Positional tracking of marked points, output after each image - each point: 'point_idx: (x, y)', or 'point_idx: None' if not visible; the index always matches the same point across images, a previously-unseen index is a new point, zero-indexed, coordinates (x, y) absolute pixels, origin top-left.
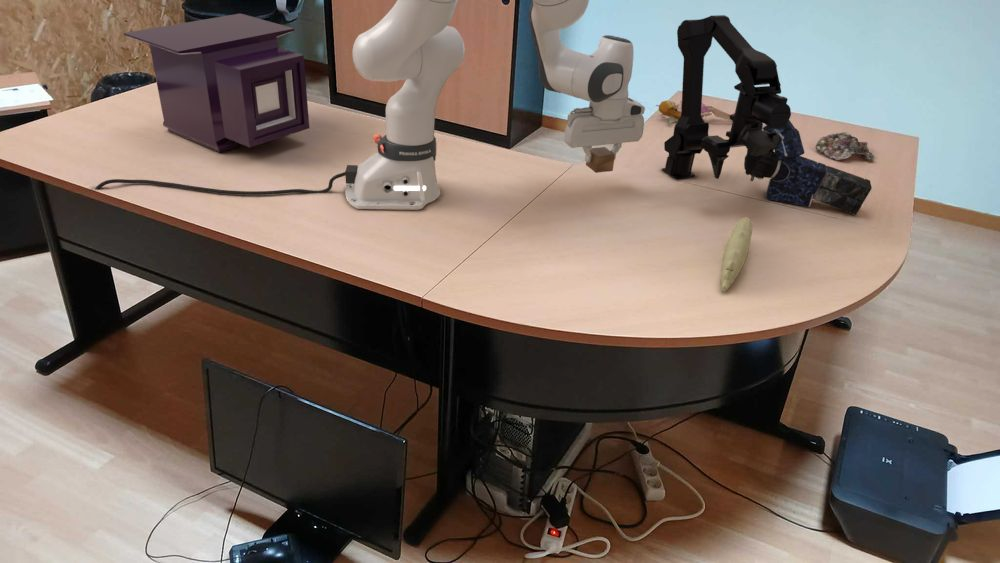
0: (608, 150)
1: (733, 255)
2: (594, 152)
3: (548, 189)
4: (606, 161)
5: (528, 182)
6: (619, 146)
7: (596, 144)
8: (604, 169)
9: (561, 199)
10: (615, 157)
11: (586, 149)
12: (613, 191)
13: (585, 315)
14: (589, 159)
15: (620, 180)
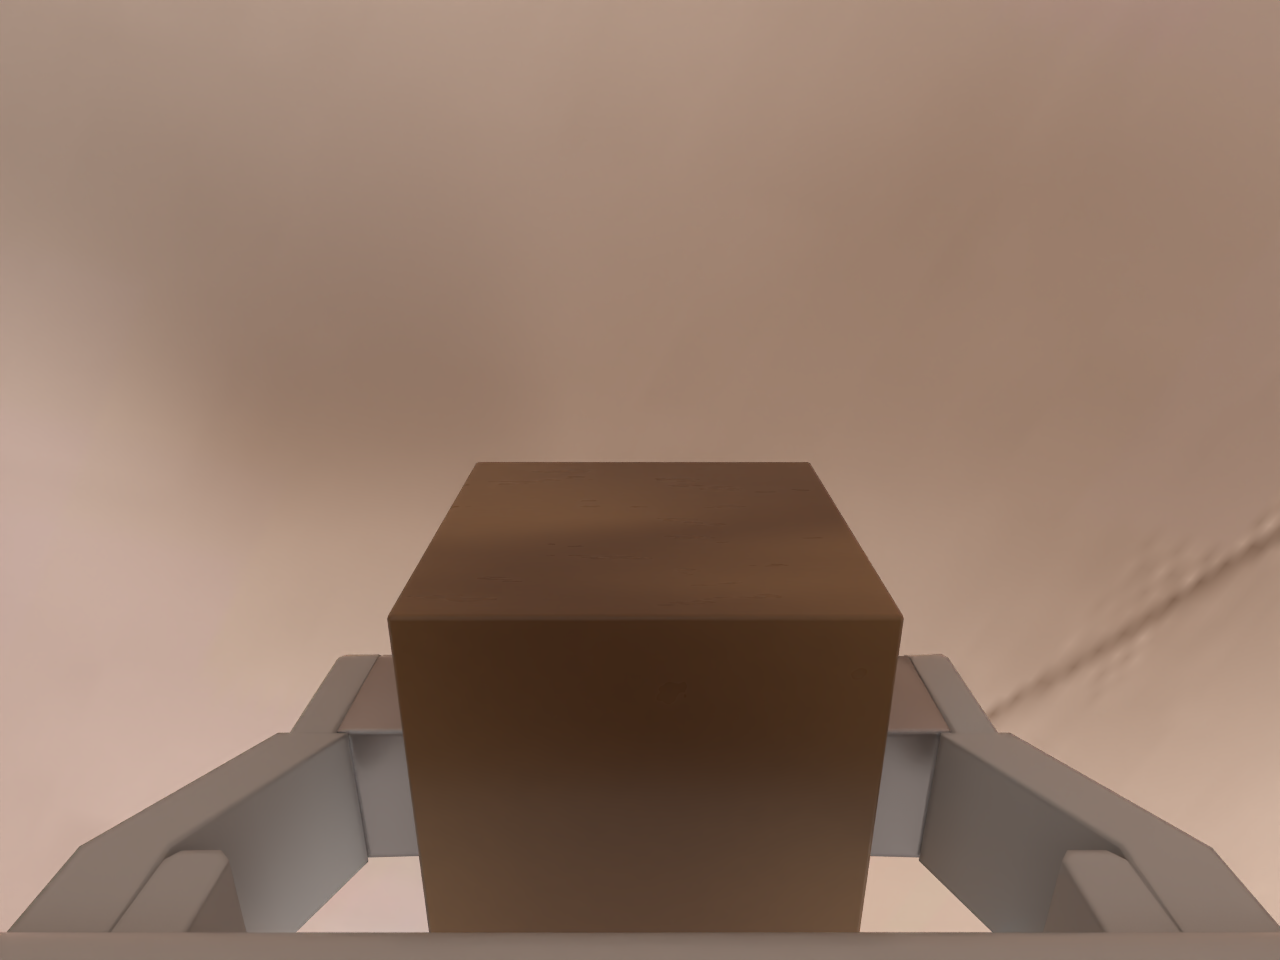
0: (445, 845)
1: None
2: (835, 820)
3: (1141, 595)
4: (623, 541)
5: (1218, 767)
6: (135, 857)
7: (1065, 957)
8: (644, 475)
9: (1177, 341)
10: (331, 673)
11: (1225, 867)
12: (471, 379)
13: None
14: (948, 681)
15: (272, 604)
